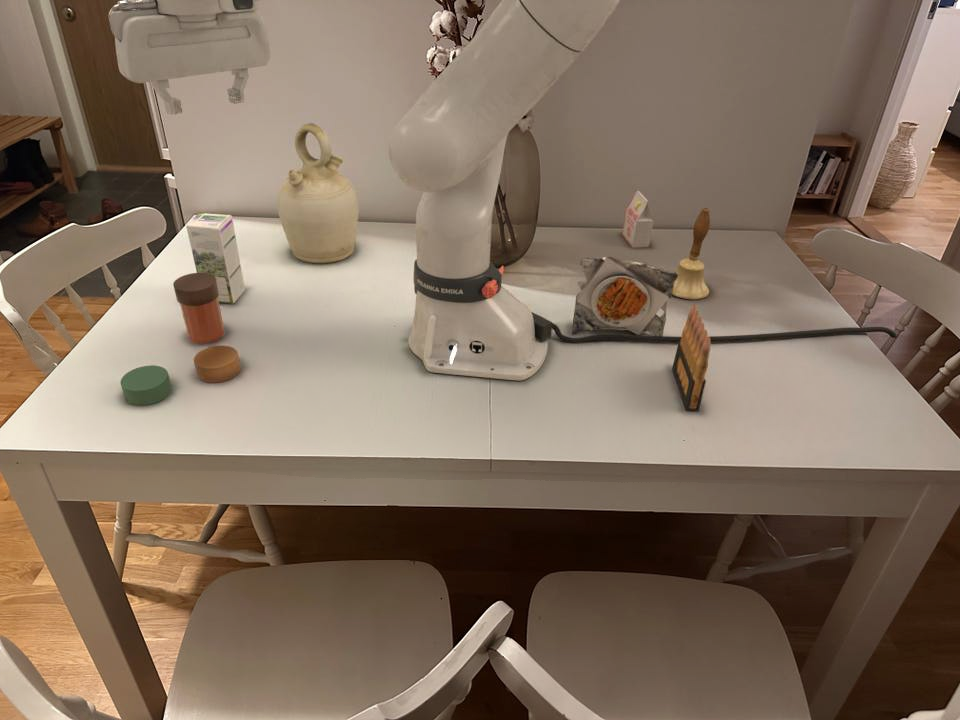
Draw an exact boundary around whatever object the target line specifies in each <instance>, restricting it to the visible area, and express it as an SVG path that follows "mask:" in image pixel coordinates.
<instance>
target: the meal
mask: <svg viewBox="0 0 960 720" xmlns="http://www.w3.org/2000/svg"><path fill="white" fill-rule="evenodd" d="M580 266H581V267H582V272H583V273H584V276H585V279H583V280H580V281H578V282H577V283H578V286H579V289H580V291H579V292H578V293H577V294H576V295H575V304H574V311H573V318H572V319H573V320H572V327H571V334H572V335H574V334H576V333H578V331H579V332H580V331H586V330H590V331H591V332H596V331H599V330H601V329H605V330H607V329H608V330H610V329H611V330H617V331H618V330H619V331H620V330H621V331H627V330H628V331H630V332H632V333H634V334H635V335H638V336H644V334H645V333H646V332H647V333H649V334H650V336H664V330H665V325H666V322H667V305H668V300H669V299H672V296H673V295H672V293H673V288H674V281H675V280H676V279H677V277H678V274H677V273H676V271H675V272H669V271H666V270H665V269H663V268H656V267H655V266H651V265H648V264H647V263H646V262H639V261H632V260H624V259H619V258H616V257H613V256H603V257H601V258H589V257H583V258H581V259H580ZM660 310H662V311H663V313H662V314H661V315H660V316H659V315H658V314H657V313H658V312H659V311H660Z"/></svg>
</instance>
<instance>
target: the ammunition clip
mask: <svg viewBox="0 0 960 720" xmlns="http://www.w3.org/2000/svg"><path fill="white" fill-rule="evenodd" d="M708 336H709V335H708V330H707V329H706V327H705V323H704V322H703V320H702V317H701V316H700V312H699V310H697V305H696V304H693V305H692V306H691V308H690V310H689V312H688V314H687V318H686V322H685V325H684V327H683V329H682V333H681V336H680V337H681V341H680V342H677V347H676V351H675V355H674V359H673V364H672V366H671V367H672V368H671V370H672V373H673V376H674V379H675V382H676V385H677V389H678V391H679V392H678V393H679V395H680V398H681V400H682V403H683V406H684V410H685V411H692V412H699V411H700V407H701V403H702V398H703V395H704V392H705V386H706V379H705V378H706V375H707V370H708V367H709V357H710V352H711V346H712V345H711V344H712V342H711V341H710V337H708Z"/></svg>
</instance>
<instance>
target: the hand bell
mask: <svg viewBox="0 0 960 720" xmlns="http://www.w3.org/2000/svg"><path fill="white" fill-rule="evenodd" d="M710 215H711V214H710V208H708V207H703V208H702V209H701V211H700V212H699V214H698V216H697V217H696V219H695V221H694V225H693V229H692V230H693V231H692V237H693V239H692V246H691V249H690V253H689V255H688V258H683V259H681V260H680V261H679V264H678V267H677V269H676V271H675V272H676V273H677V274H678V277H677V279H676V280H675V281H674V288H673V293H672V296H674V297H678V298H680V299H684V300H692V301H693V300H701V299H705V298H707V297H708V296H709V294H710V289H709V286H708V285H707V284H706V282H705V277H704V276H705V273H704V271H705V264H704V262H702V261H700V260H699V258H700V255H701V250H702V245H703V242H704V240H705V238H706V236H707V234H708V232H709V230H710V226H711V216H710Z"/></svg>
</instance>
